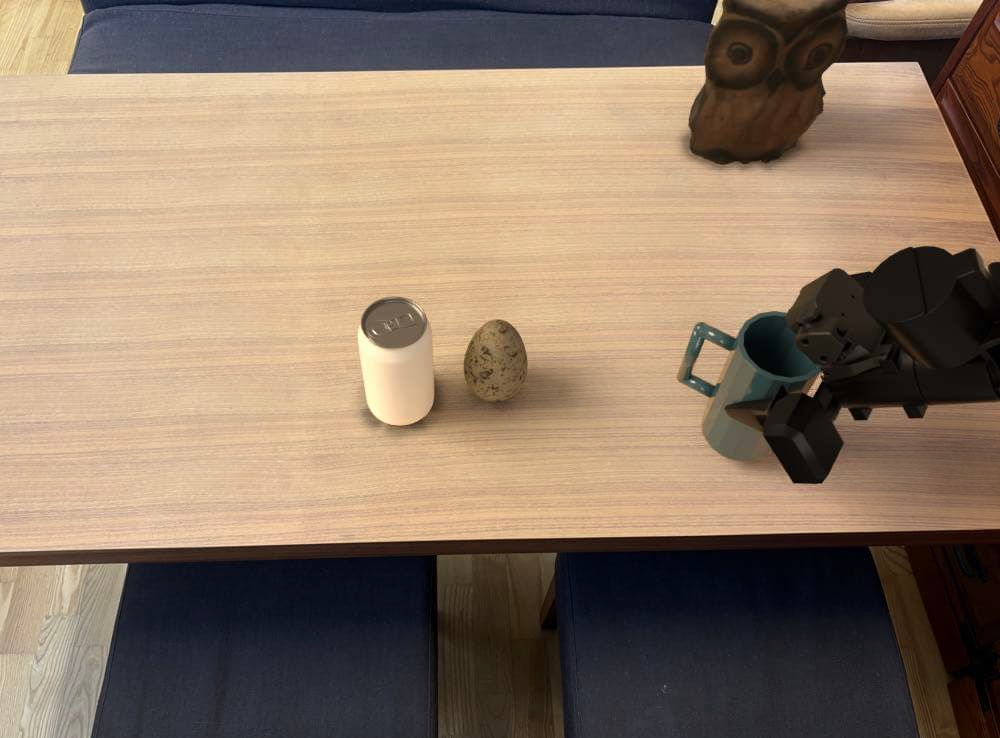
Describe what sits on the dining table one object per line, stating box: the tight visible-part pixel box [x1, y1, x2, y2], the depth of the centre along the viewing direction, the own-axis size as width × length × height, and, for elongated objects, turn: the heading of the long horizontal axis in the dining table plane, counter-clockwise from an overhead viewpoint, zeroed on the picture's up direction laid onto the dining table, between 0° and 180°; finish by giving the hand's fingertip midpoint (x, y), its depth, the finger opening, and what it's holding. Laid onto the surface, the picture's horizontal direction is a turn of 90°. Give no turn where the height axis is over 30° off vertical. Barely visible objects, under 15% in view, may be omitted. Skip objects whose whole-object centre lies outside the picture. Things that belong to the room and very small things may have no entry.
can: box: [357, 295, 435, 426], centre depth 77 cm, size 6×6×12 cm
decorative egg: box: [463, 318, 529, 403], centre depth 78 cm, size 6×6×10 cm
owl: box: [687, 0, 852, 166], centre depth 94 cm, size 13×13×20 cm
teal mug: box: [676, 310, 821, 463], centre depth 73 cm, size 10×7×13 cm, turn 55°
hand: (744, 381), depth 73 cm, fingers closed on teal mug, 7 cm apart
